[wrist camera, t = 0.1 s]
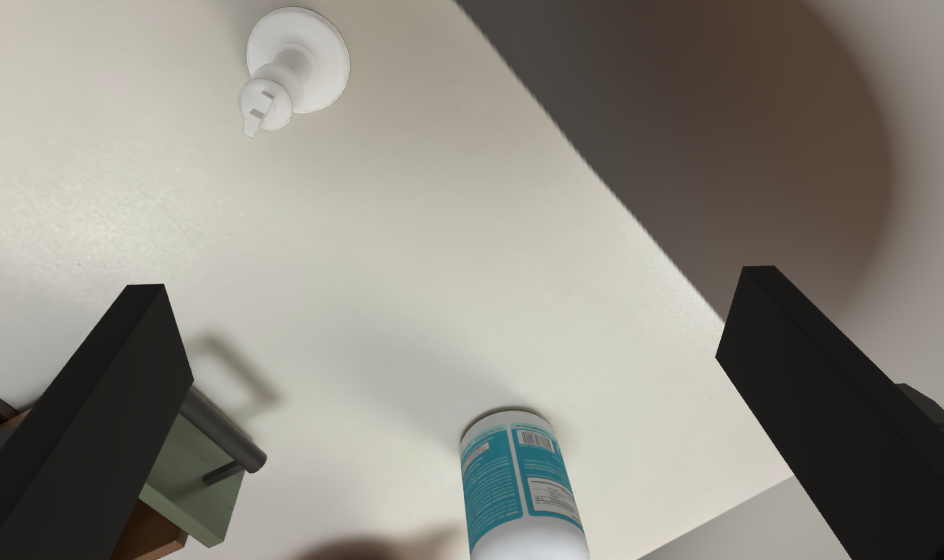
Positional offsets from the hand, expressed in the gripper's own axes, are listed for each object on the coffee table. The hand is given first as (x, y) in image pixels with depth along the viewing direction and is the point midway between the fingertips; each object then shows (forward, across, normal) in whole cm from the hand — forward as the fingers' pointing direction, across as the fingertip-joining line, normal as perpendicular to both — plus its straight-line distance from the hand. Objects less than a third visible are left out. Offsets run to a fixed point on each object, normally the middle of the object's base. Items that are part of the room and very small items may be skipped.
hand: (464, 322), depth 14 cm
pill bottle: (+20, +5, -26) cm, 33 cm away
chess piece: (+20, -7, +2) cm, 21 cm away
